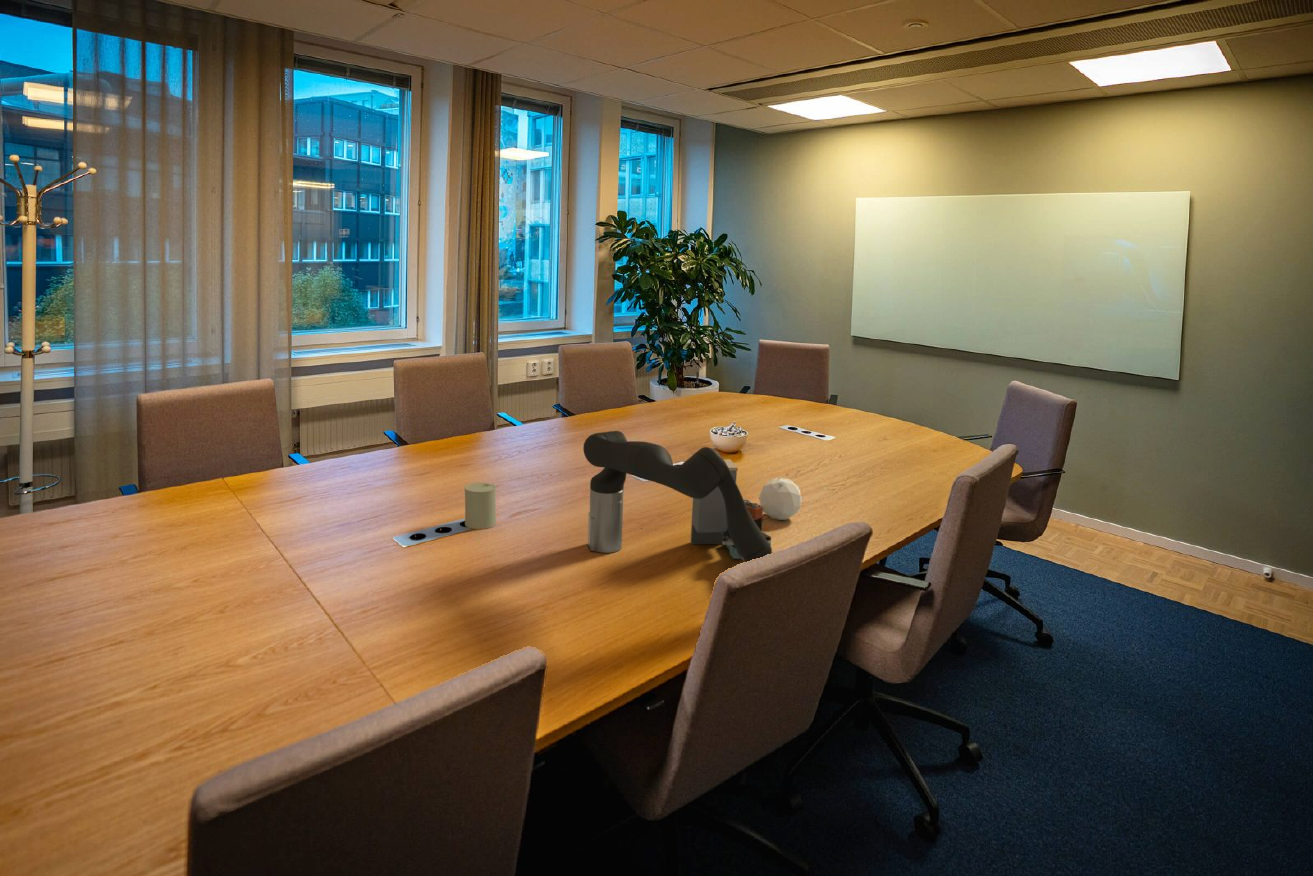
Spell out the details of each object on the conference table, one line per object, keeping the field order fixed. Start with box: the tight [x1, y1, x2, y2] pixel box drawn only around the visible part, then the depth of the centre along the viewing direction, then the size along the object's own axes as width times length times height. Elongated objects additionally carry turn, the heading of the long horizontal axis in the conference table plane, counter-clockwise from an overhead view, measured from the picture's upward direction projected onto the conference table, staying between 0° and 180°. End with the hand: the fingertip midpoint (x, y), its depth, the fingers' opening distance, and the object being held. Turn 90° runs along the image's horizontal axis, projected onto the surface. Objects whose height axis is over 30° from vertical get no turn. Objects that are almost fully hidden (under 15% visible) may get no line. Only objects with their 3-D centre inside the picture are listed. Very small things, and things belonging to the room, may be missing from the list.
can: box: [464, 482, 497, 530], centre depth 238 cm, size 9×9×12 cm
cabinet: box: [690, 458, 739, 545], centre depth 226 cm, size 10×8×25 cm
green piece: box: [726, 545, 741, 559], centre depth 224 cm, size 4×12×12 cm, turn 10°
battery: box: [743, 499, 764, 531], centre depth 240 cm, size 4×7×10 cm, turn 48°
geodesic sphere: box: [758, 476, 803, 521], centre depth 254 cm, size 14×14×14 cm
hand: (737, 529), depth 223 cm, fingers closed on green piece, 4 cm apart
